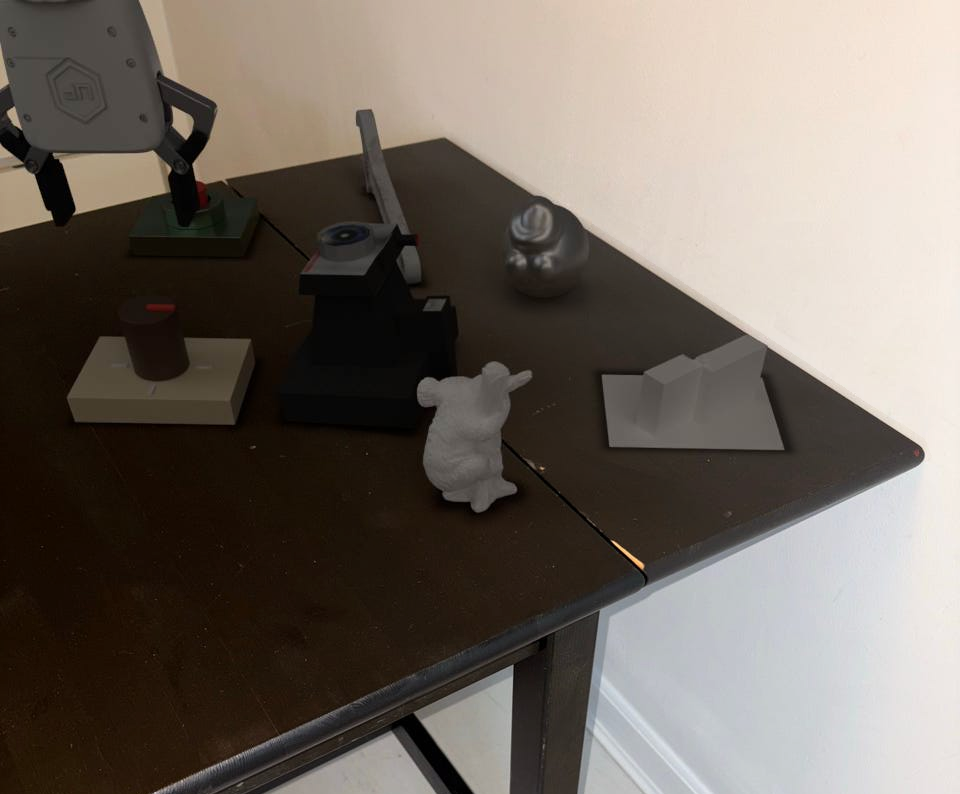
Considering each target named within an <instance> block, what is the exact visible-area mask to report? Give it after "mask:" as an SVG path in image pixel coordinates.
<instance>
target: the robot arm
mask: <svg viewBox="0 0 960 794" xmlns="http://www.w3.org/2000/svg"><path fill="white" fill-rule="evenodd" d="M0 50H1V55H2V59H3V64H4V68H5V73H6V77H7V81H8V83H7V84H6V85H4V86H3V87H2V88H0V145H1V147H2V148H4V149H5V150H6V151H7V152H8V153H10V154H11V155H12V156H13V157H15V158H16V159H17V160H18V161H20V162H21V163H22V164H23V166H24V169H25V170H26V171H27V172H28V173H29V174H30V175H31V174H32V175H34V178H35V181H36V184H37V187H38V191H39V192H40V196H41V199H42V203H43V205H44V208H45V210H46V211H47V212H50V214H51V217H52V220H53V223H54V226H55V227H57V228H65V226H67V224H68V223H69V222H70V221H71V219H72V217H73V216H74V214H75V213H76V212H77V207H76V204H75V200H74V196H73V194H72V191H71V187H70V184H69V181H68V177H67V174H66V171H65V170H66V169H65V168H64V164H63V163H62V162H61V160H60V158H55V156H54V154H94V155H95V154H97V155H99V154H100V155H101V154H108V155H109V154H110V155H111V154H114V155H115V154H122V155H123V154H144V153H149V152H152V151H153V152H154V153H155V154H156V155H157V156H158V157H159V158H160V159H161V160H162V161H163V162H164V163H165V164H166V165H167V166H168V167H169V168H170V171H169V173H168V175H167V182H168V186H169V192H170V193H171V195H172V200H173V204H174V208H175V213H176V217H177V221H178V225H181V227H189V226H190V224H191V222H192V220H193V218H194V216H195V214H196V212H198V211H199V209H200V198H199V193H198V188H197V183H196V181H197V179H196V173H195V169H194V165H193V164H194V163H195V161H196V160H197V159H198V158H199V156H200V155H201V154H202V152H203V151H204V150H205V148H206V146H207V144H208V142H209V141H210V139H211V133H212V130H213V128H214V124H215V121H216V117H217V114H218V109H219V108H218V105H217V103H216V102H215V101H214V100H212V99H211V98H208V97H206V96H204V95H202V94H200V93H199V92H197V91H195V90H192V89H191V88H189V87H186V86H185V85H183V84H181V83H179V82H176V81H174V80H173V79H171V78H169V77H167V76H165V73H164V70H163V66H162V62H161V60H160V55H159V53H158V50H157V46H156V43H155V40H154V37H153V33H152V32H151V29H150V25H149V23H148V20H147V18H146V15H145V12H144V10H143V7H142V5H141V2H140V0H0ZM173 108H176V109H177V110H179V111H181V112H183V113H185V114H188V115H189V116H190V117H191V118H192V120H193V121H192V122H193V125H192V130H191V133H190V134H189V136H188V137H187V138H185V137H184V135H182V134H181V133H180V132H179V131H178V130H177V129H176V128H175V127H174V126H173V124H174V112H173ZM11 109H15V112H16V115H17V119H18V122H19V126H20V127H18V126H17V125H15V124H14V123H13V120H12V119H11V118H10V116H9V115H8V112H9V111H10V110H11Z"/></svg>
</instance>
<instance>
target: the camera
mask: <svg viewBox="0 0 960 794" xmlns="http://www.w3.org/2000/svg"><path fill="white" fill-rule="evenodd" d="M316 236H317V237H316V242H317V246H318V249H317V250H316V251H315V252H314V254H313V255H312V257H311V258H310V259H309V260H308V262H307V264H306V265H304V267H303V269H302V271H301V272H300V273H299V279H298V280H299V282H298V295H299V296H314V304H313V314H312V323H311V328H310V330H309V332H307V335H306V336H305V338H304V340H303V341H302V343H301V344H300V345H299V347H298V349H297V350H296V351H295V353H294V354H293V356H292V357H291V359H290V360H289V362H288V364H287V366H286V369H285V370H284V371H285V372H284V373H283V377H282V379H281V381H280V385H279V387H278V390H277V392H276V394H277V396H278V401H279V404H280V409H281V411H282V416H283V419H284V422H292V423H310V424H311V423H312V424H330V425H346V426H347V425H349V426H364V427H365V426H366V427H367V426H368V427H382V428H383V427H384V428H385V427H386V428H400V429H401V428H405V429H416V428H417V427H418V424H419V421H420V419H421V417H422V415H423V413H424V410H425V408H426V407H424V406H421V405H420V403H419V402H418V398H417V388H418V385H419V383H420V382H421V380H424V378H426V377H429V378H434V379H436V380H437V381H441V380H443V379H445V378H449V377H457V376H459V375H458V365H457V357H456V356H457V355H456V345H455V344H456V341H457V339H458V337H459V335H460V332H459V323H458V314H457V307H456V305H452V301H451V295H450V294H449V295H426V297H425V298H414V296H413V295H412V292H411V289H410V287H409V284H407V282H406V280H405V278H404V276H403V274H402V272H401V270H400V268H399V266H398V264H397V261H396V260H397V258H398V257H399V255H400V253H401V252H402V250H403V248H404V247H405V246H415V247H418V245H419V242H420V239H419V235H418V234H417V233H414V234H412V233H410V234H402V233H401V231H400V229H399V226H398V224H389V223H384V222H383V223H382V222H381V223H372V222H363V221H355V220H350V221H349V220H348V221H340V222H337V223H334V224H330V225H328V226H325V227H323V229H321V230H320V231H319V232H317V235H316Z"/></svg>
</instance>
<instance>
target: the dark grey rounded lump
mask: <svg viewBox="0 0 960 794" xmlns="http://www.w3.org/2000/svg"><path fill="white" fill-rule="evenodd" d="M589 245H590V244H589V239H588V234H587V231H586V229H585V227H584V225H583V224H582V222H581V220H580V219H579V217H577V215H575V213H573V212H572V211H571V210H569V209H567V208H566V207H564V206H561V205H559V204H555V203H553V201H552V200H550V199H549V198H547V197H545V196H543V195H531V196H529V197H527V198H526V199H524V200H523V201H522V202H521V203H519V204H518V205H517V207H515V208H514V209H513V211H512V213H511V216H510V218H509V221H508V224H507V227H506V228H505V230H504V233H503V236H502V239H501V244H500V260H501V264H502V268H503V271H504V273H505V275H506V277H507V278H508V280H509V281H510V283H511V284H512V285H513V286H514V287H515V288H516V289H518V290H519V291H520V292H522V293H523V294H524V295H525V294H526V295H527V296H530V297H534V298H537V299H538V298H539V299H549V298H554V297H557V296H560V295H562V294H565V293H566V292H568V291H569V290H570V289H572V288H573V287H574V286H575V285H576V284H577V283H578V282H579V280H580V279H581V277H582V276H583V274H584V273H585V270H586V269H587V268H586V267H587V264H588V261H589V254H590V246H589Z"/></svg>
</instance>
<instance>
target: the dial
mask: <svg viewBox="0 0 960 794" xmlns="http://www.w3.org/2000/svg"><path fill="white" fill-rule="evenodd" d="M117 314H118V320H119V323H120V326H121V329H122V333H123V337H125V340H126V343H127V347H128V350H129V354H130V357H131V361H132V364H133V368H134V371H135V373H136V375H137V376H139V377H140V378H142V379H145V380H149V381H164V380H169V379H173V378H175V377H178V376H180V375H181V374H183V373H184V372H185V371H186V370H187V369H188V367H189V364H190V362H189V357H188V353H187V349H186V345H185V340H184V338H185V336H184V333H183V328H182V324H181V319H180V315H179V312H178V307H177V304H176V302H175V301H174V300H173V299H171V298H169V297H167V296H164V295H163V296H162V295H154V294H153V295H151V294H150V295H143V296H138V297H134V298H132V299H129V300H128V301H125V302H124V303H123V304H122V305H121V306H120V307H119V309H118V312H117Z"/></svg>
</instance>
